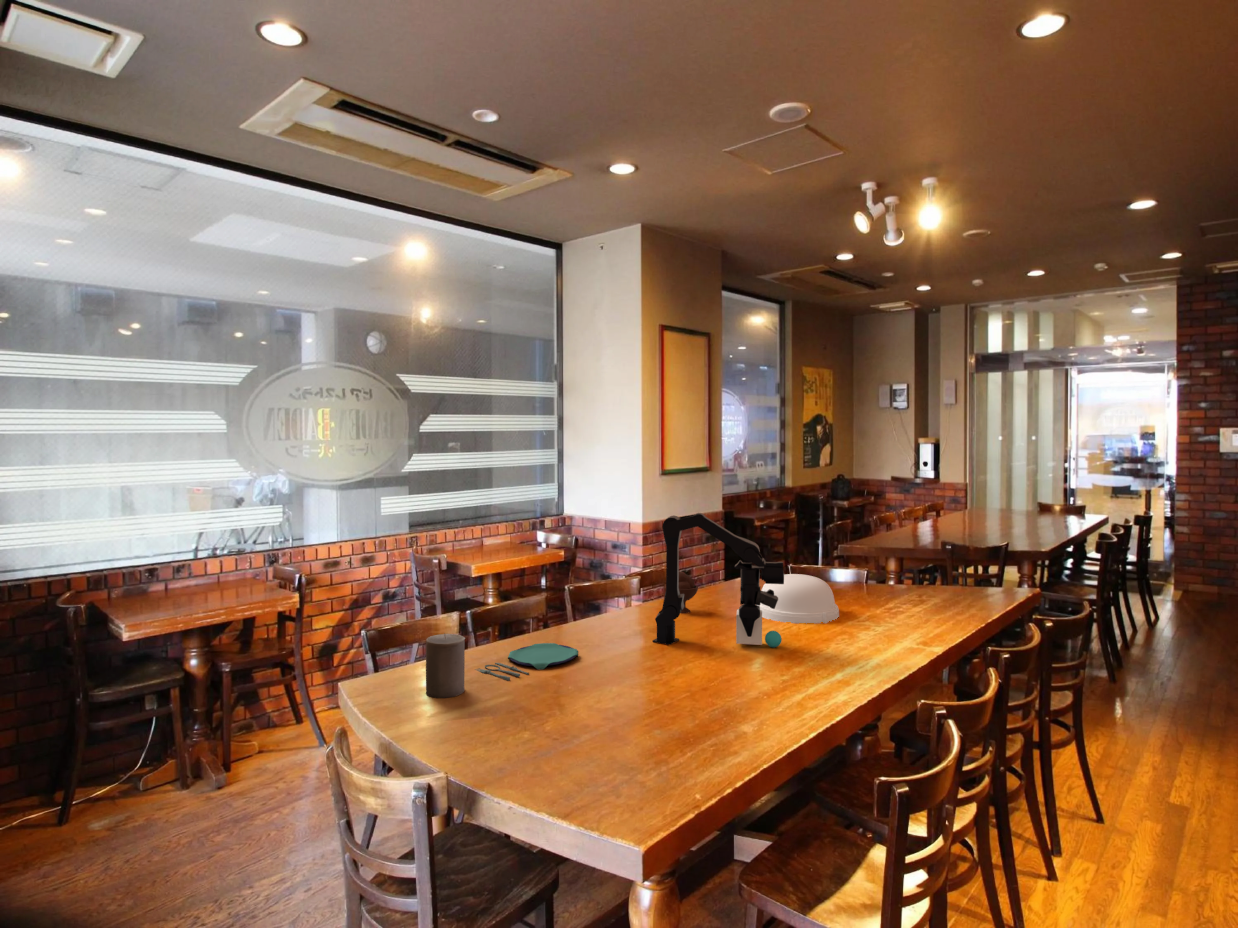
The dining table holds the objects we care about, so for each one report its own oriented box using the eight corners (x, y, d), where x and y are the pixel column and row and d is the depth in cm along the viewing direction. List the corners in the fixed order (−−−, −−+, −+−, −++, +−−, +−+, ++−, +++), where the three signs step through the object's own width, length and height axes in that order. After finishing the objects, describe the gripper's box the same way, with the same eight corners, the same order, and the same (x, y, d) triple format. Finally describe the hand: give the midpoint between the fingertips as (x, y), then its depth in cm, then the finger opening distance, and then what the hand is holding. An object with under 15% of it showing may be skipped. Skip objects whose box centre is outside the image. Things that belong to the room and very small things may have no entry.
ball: (769, 632, 222) (767, 649, 223) (785, 633, 223) (783, 649, 224) (763, 628, 227) (761, 643, 227) (778, 629, 228) (776, 644, 228)
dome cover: (737, 609, 277) (737, 572, 276) (800, 601, 290) (800, 565, 289) (792, 628, 248) (792, 587, 247) (859, 619, 261) (859, 580, 260)
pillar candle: (425, 699, 181) (426, 639, 180) (425, 686, 190) (425, 629, 189) (466, 696, 183) (466, 637, 183) (463, 683, 193) (463, 627, 192)
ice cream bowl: (688, 616, 264) (688, 575, 263) (662, 612, 270) (662, 571, 270) (703, 611, 272) (703, 571, 272) (678, 606, 279) (678, 567, 278)
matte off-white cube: (736, 643, 224) (736, 614, 223) (737, 636, 231) (737, 609, 231) (761, 644, 222) (762, 616, 222) (761, 637, 230) (762, 610, 229)
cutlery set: (591, 658, 215) (591, 650, 215) (510, 685, 193) (510, 677, 193) (546, 646, 228) (546, 638, 228) (466, 670, 207) (466, 662, 206)
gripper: (777, 590, 215) (776, 642, 216) (776, 578, 234) (775, 626, 234) (739, 588, 217) (738, 640, 218) (740, 576, 236) (740, 624, 236)
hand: (749, 633), depth 227 cm, fingers closed on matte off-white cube, 8 cm apart
